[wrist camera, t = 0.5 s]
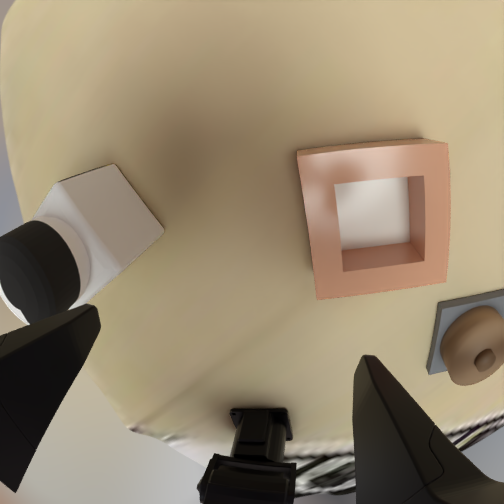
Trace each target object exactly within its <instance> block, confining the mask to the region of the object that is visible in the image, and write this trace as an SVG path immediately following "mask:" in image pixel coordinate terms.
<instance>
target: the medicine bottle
mask: <svg viewBox="0 0 504 504" xmlns="http://www.w3.org/2000/svg"><path fill="white" fill-rule="evenodd" d="M163 234H164V228H163V227H162V226H161V224H160V223H159V222H158V221H157V219H156V218H155V217H154V215H153V214H152V213H151V212H150V210H149V209H148V208H147V206H146V205H145V204H144V202H143V201H142V200H141V199H140V197H139V196H138V195H137V193H136V192H135V191H134V189H133V188H132V187H131V185H130V184H129V183H128V181H127V180H126V179H125V177H124V176H123V175H122V173H121V172H120V170H119V169H118V168H117V166H116V165H115V164H109V165H106V166H103V167H99V168H96V169H93V170H90V171H87V172H84V173H81V174H78V175H75V176H72V177H70V178H67V179H64V180H61V181H58V182H57V183H55V184H54V185H53V187H52V188H51V190H50V191H49V193H48V194H47V196H46V198H45V199H44V201H43V202H42V204H41V205H40V207H39V209H38V210H37V212H36V213H35V215H34V217H33V218H32V220H31V221H29V222H27V223H25V224H23V225H21V226H19V227H18V228H16V229H14V230H12V231H10V232H8V233H7V234H5V235H3V236H1V237H0V295H1V297H2V299H3V301H4V302H5V304H6V305H7V306H8V308H9V309H10V310H11V311H12V312H13V313H14V314H15V315H16V316H17V317H18V318H19V319H20V320H21V321H23V322H24V323H26V324H27V325H30V324H32V323H35V322H38V321H41V320H43V319H46V318H49V317H51V316H54V315H57V314H59V313H62V312H65V311H67V310H68V309H69V310H70V309H73V308H76V307H78V306H81V305H84V304H86V303H87V302H88V301H89V300H90V299H91V298H92V297H94V296H95V295H96V294H97V293H98V292H99V291H100V290H101V289H103V288H104V287H105V286H106V285H107V284H108V283H110V282H111V281H112V280H113V279H114V278H115V277H116V276H118V275H119V274H120V273H121V272H122V271H123V270H124V269H125V268H127V267H128V266H129V265H130V264H131V263H132V262H133V261H134V260H135V259H136V258H137V257H138V256H140V255H141V254H142V253H143V252H144V251H145V250H146V249H147V248H148V247H149V246H151V245H152V244H153V243H154V242H155V241H156V240H157V239H158V238H160V237H161V236H162V235H163Z"/></svg>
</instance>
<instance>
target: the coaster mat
mask: <svg viewBox="0 0 504 504" xmlns="http://www.w3.org/2000/svg"><path fill="white" fill-rule="evenodd" d="M483 305H487V306H491V307H493V308H495V309H496V310H497V311H498V312H499V314H500V315H501V316H502V318H503V319H504V289H502V290H498V291H493V292H489V293H484V294H479V295H475V296H470V297H465V298H460V299H455V300H450V301H444V302H439V303H438V309H437V315H436V322H435V328H434V333H433V339H432V344H431V349H430V354H429V358H428V363H427V367H426V368H427V371H428V374H429V375H431V374H435V373H440V372H444V371H447V368H446V366H445V364H444V361H443V359H442V357H441V354H440V344H441V341H442V338H443V336H444V334H445V332H446V331H447V329H448V328H449V326H450V325H451V324H452V323H453V322H454V321H455V320H456V319H457V318H458V317H459V316H460V315H462V314H463V313H465V312H466V311H468V310H470V309H472V308H474V307H478V306H483Z"/></svg>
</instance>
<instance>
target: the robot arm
mask: <svg viewBox="0 0 504 504" xmlns="http://www.w3.org/2000/svg"><path fill="white" fill-rule="evenodd" d="M100 329H101V323H100V319H99V314H98V310H97V308H96V306H94V305H90V304H84V305H81V306H78V307H76V308H73V309H70V310H67V311H65V312H62V313H59V314H57V315H54V316H51V317H49V318H46V319H43V320H41V321H38V322H35V323H32V324H30V325H27V326H25V327H22V328H19V329H17V330H14V331H11V332H9V333H8V334H7V333H6V334H3V335H1V336H0V481H1V482H2V483H3V484H4V485H6V486H7V487H8V488H10V489H11V490H12V491H13V492H15V493H16V491H17V489H18V488H19V485H20V483H21V481H22V479H23V476H24V474H25V472H26V470H27V468H28V466H29V464H30V462H31V459H32V458H33V456H34V453H35V452H36V450H35V449H37V447H38V445H39V443H40V441H41V439H42V437H43V435H44V434H45V432H46V430H47V428H48V426H49V424H50V422H51V420H52V419H53V417H54V415H55V413H56V411H57V409H58V408H59V406H60V404H61V402H62V400H63V398H64V397H65V395H66V393H67V392H68V390H69V388H70V387H71V385H72V383H73V381H74V380H75V378H76V376H77V375H78V373H79V371H80V370H81V368H82V366H83V365H84V363H85V361H86V359H87V357H88V355H89V352H90V350H91V348H92V346H93V344H94V342H95V340H96V338H97V336H98V334H99V332H100ZM230 416H231V418H232V420H233V423H234V425H235V427H236V429H237V430H236V434H235V438H234V442H233V446H232V450H231V454H230V457H229V456H223V455H219V454H216V453H214V455H213V457H212V459H210V461H209V464H208V466H207V469H206V471H205V473H204V476H203V477H202V479H201V480H200V482H199V483H198V485H197V490H198V491H199V492H200V503H202V504H293V502H294V494H295V481H296V463H292V462H291V463H283V459H284V450H285V442H286V441H290V440H292V439H293V434H292V429H291V425H290V420H289V415H288V411H287V410H286V409H231V410H230ZM352 421H353V437H354V453H355V474H356V504H504V483H503V482H498V481H495V480H493V479H490V478H489V477H487V476H486V475H485V474H484V473H482V472H481V471H480V470H479V469H478V468H477V467H476V466H475V465H474V464H473V463H472V462H471V461H470V460H469V459H468V458H467V457H466V456H465V455H463V453H461V452H460V451H459V450H458V449H457V448H456V447H455V446H454V445H453V444H452V443H451V441H450V440H449V439H448V438H447V437H446V436H445V435H444V434H443V433H442V431H441V430H440V429H439V428H438V427H437V426H436V425H435V423H434V422H433V421H432V420H431V419H430V417H429V416H428V415H427V414H426V413H425V412H424V411H423V409H422V408H421V407H420V406H419V405H418V404H417V402H416V401H415V400H414V399H413V398H412V397H411V396H410V394H409V393H408V392H407V391H406V390H405V389H404V388H403V386H402V385H401V384H400V383H399V382H398V381H397V380H396V378H395V377H394V376H393V375H392V374H391V373H390V372H389V371H388V369H387V368H386V367H385V366H384V365H383V364H382V363H381V362H380V360H379V359H378V358H377V357H376V356H374V355H363V356H362V357H361V359H360V362H359V364H358V366H357V369H356V371H355V374H354V384H353V416H352ZM434 425H435V426H434Z"/></svg>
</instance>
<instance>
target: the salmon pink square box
mask: <svg viewBox="0 0 504 504" xmlns="http://www.w3.org/2000/svg"><path fill="white" fill-rule="evenodd" d="M297 162H298V168H299V174H300V180H301V186H302V192H303V198H304V205H305V211H306V218H307V225H308V232H309V239H310V247H311V254H312V262H313V270H314V279H315V287H316V296H317V300H321V299H330V298H339V297H347V296H355V295H363V294H371V293H378V292H385V291H393V290H399V289H406V288H413V287H419V286H426V285H432V284H438V283H444V282H446V278H447V269H448V257H449V242H450V209H451V199H450V167H449V152H448V143H445V142H440V141H435V140H429V139H424V138H420V139H401V140H387V141H374V142H363V143H353V144H344V145H335V146H326V147H318V148H311V149H304V150H297Z"/></svg>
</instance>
